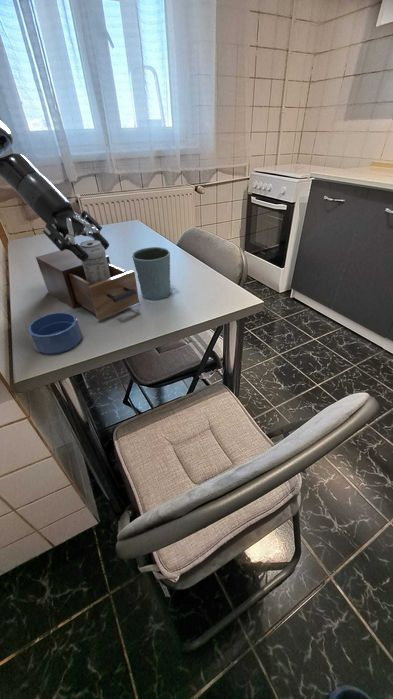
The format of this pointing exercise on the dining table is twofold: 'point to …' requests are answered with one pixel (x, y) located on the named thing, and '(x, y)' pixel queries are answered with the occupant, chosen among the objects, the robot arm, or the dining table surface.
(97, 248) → the energy drink can
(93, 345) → the dining table surface
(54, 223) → the robot arm
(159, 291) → the blue ceramic cup
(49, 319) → the bowl
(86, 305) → the drawer
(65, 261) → the cabinet
